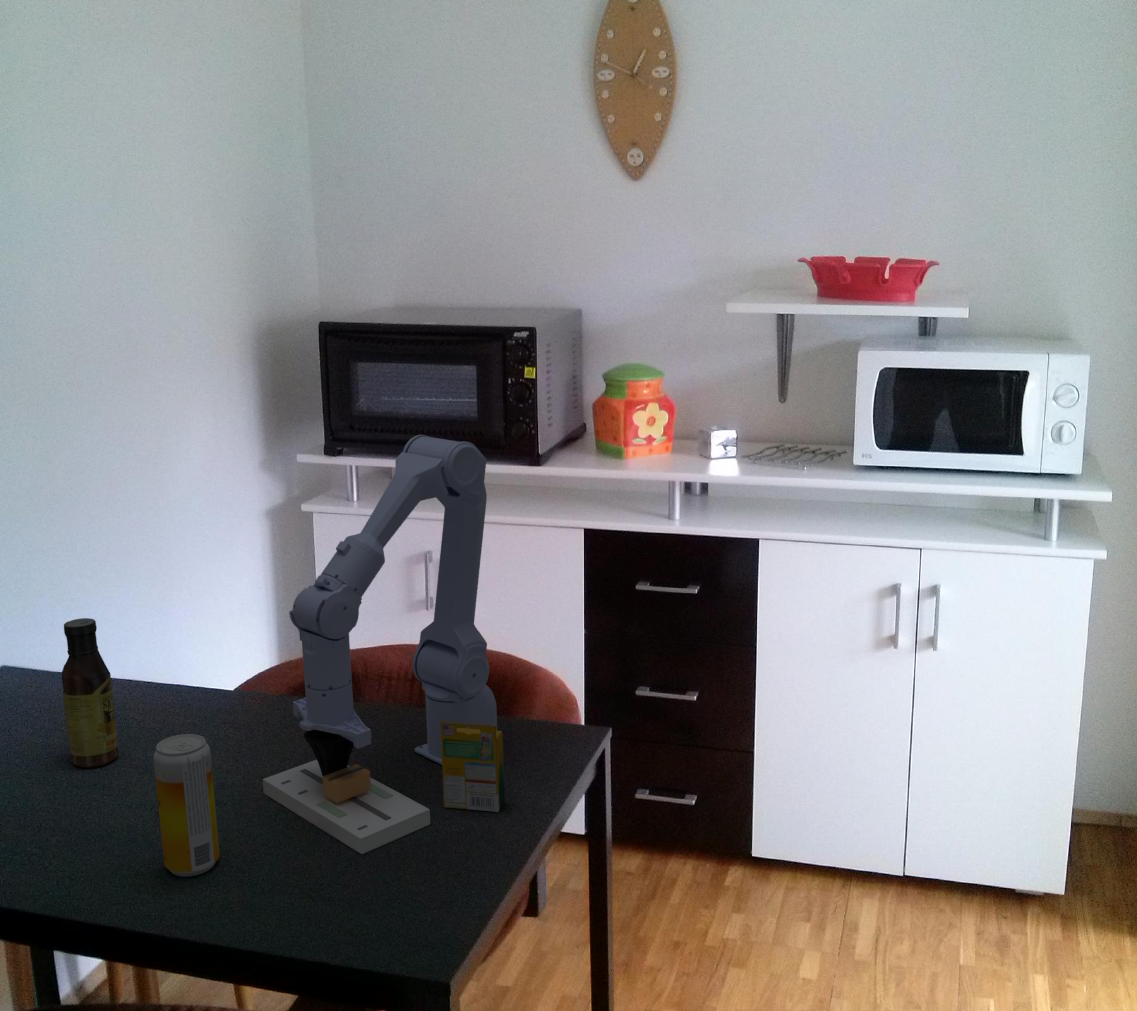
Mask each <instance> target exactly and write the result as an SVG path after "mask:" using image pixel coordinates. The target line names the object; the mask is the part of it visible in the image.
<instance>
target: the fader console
mask: <svg viewBox="0 0 1137 1011" xmlns="http://www.w3.org/2000/svg"><path fill="white" fill-rule="evenodd" d="M349 766H350V765H348V766H347V767H349ZM322 777H323V776H322V773H321V770H320V767H319V764H318V761H317V759H315V760H312V761H309V762H306V763H304V764H301V765H297V766H295V767H293V768H289V769H286V770H283V771H281V772H278V773H276V774H274V775H271V776H270V775H269V776H268V777H265V778H263V779H262V788H263V794H264V795H265V796H267V797H269V798H271V799H272V800H274V801H275V802H277V803H278V804H280V805H282V806H283V807H285V808H286V809H288V810H290V811H291V812H293V813H295V814H296V815H298V816H299V817H301V818H302V819H304V820H305V821H307V822H308V823H310V824H311V825H314V826H315V827H317V828H319V829H320V830H322V831H323V832H325V833H327V834H329V835H330V836H331V837H333V838H335V839H336V840H338V841H340V842H341V843H342V844H345V845H346V846H348V847H349V848H351V849H352V850H354V851H355V852H358V853H359V854H360V855H364V854H366V853H368V852H371V851H373V850H375V849H378V848H380V847H382V846H384V845H386V844H389V843H391V842H393V841H397V840H398V839H400V838H402V837H405V836H407V835H409V834H411V833H413V832H416V831H418V830H420V829H424V828H425V827H427V826H429V825H431V814H430V813H431V811H430V808H428V807H426V806H424V805H423V804H421V803H418V802H417V801H415V800H413V799H411V798H409V797H407V796H406V795H404V794H402V793H400V792H398V791H396V790H394V789H393V788H391V787H389V786H387V785H385V784H383V783H382V782H379V781H378V780H376V779H374V778H372V777H370V779H371V790H369V791H366V792H364V793H361V794H359V795H356V796H354V797H351V798H349V799H346V800H344V801H341V802H339V803H336V802H334V801H333V800H331V799H329V798H328V797H326V796H324V793H323V778H322Z"/></svg>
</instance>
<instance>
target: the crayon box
mask: <svg viewBox="0 0 1137 1011" xmlns="http://www.w3.org/2000/svg"><path fill="white" fill-rule="evenodd" d="M465 727H470V728H472V729H463V728H465ZM477 729H479V730H477ZM503 737H504V735H503V731H502V730H497V731H496V725H484V724H469V723H455V722H441V749H442V765H441V768H442V770H441V772H442V774H441V775H442V797H443V798H442V799H443V802H442V803H443V808H444V809H460V810H470V811H471V810H472V811H480V812H481V811H484V812H493V813H500V811H501V809H502V807H503V806H504V804H505V803H506V802H505V800H506V798H505V796H506V795H505V793H506V792H505V770H504V767H505V766H504V764H505V763H504V741H503V740H504V738H503Z"/></svg>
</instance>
